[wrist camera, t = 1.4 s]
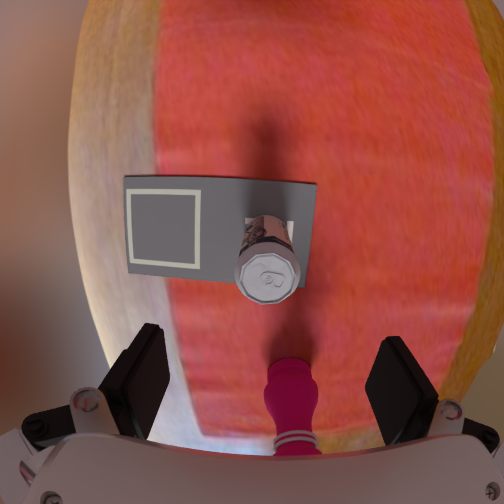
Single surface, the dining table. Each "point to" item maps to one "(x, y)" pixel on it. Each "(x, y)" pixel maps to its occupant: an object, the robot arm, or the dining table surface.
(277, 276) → the beer can
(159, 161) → the dining table surface
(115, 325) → the dining table surface
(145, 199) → the slate board
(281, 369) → the pepper mill
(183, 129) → the dining table surface
